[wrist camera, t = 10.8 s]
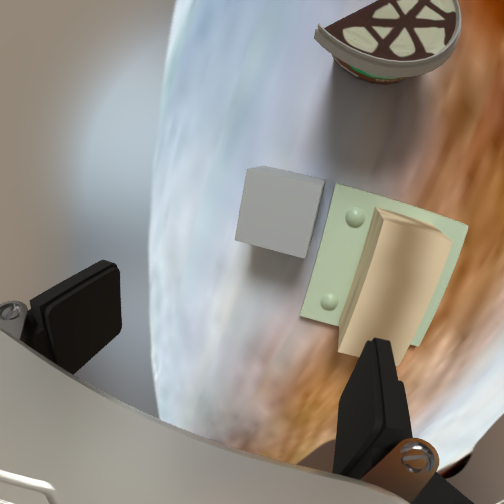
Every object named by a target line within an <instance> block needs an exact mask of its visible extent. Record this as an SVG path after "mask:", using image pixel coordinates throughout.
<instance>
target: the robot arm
mask: <svg viewBox="0 0 504 504" xmlns="http://www.w3.org/2000/svg"><path fill="white" fill-rule="evenodd" d="M30 305H31V309H30V310H29V311H28V309H27V306H26V305H25V304H24V303H22V302H20V301H8V302H4V303H2V304H0V504H474V503H473V502H471V501H470V500H469V499H468V498H467V497H465V496H464V495H463V494H462V493H461V492H459V491H458V490H457V489H455V487H453V486H452V485H451V484H450V483H449V482H447V481H446V480H445V479H444V478H443V477H441V476H440V475H439V474H438V473H437V472H436V471H437V468H438V466H439V456H438V453H437V451H436V450H435V448H434V447H433V446H432V445H431V444H430V443H428V442H426V441H425V440H422V439H419V438H413V437H412V430H411V423H410V417H409V410H408V405H407V399H406V393H405V388H404V384H403V382H402V381H398V377H397V371H396V366H395V361H394V356H393V351H392V347H391V342H390V341H389V340H385V339H380V338H376V337H374V338H373V340H372V341H370V340H368V341H367V342H366V344H365V346H364V348H363V350H362V353H361V355H360V357H359V359H358V362H357V364H356V366H355V368H354V370H353V372H352V374H351V377H350V379H349V381H348V383H347V385H346V387H345V389H344V391H343V393H342V395H341V397H340V401H339V408H338V422H337V434H336V445H335V455H334V464H333V472H332V473H329V472H325V471H321V470H317V469H312V468H308V467H303V466H299V465H294V464H290V463H286V462H282V461H279V460H275V459H271V458H267V457H264V456H260V455H257V454H253V453H250V452H247V451H243V450H240V449H237V448H234V447H230V446H227V445H224V444H221V443H218V442H216V441H213V440H210V439H207V438H204V437H202V436H199V435H196V434H194V433H191V432H188V431H186V430H183V429H181V428H178V427H176V426H174V425H171V424H169V423H166V422H164V421H162V420H159V419H157V418H155V417H153V416H150V415H148V414H146V413H144V412H141V411H140V410H137V409H136V408H133V407H131V406H129V405H127V404H125V403H123V402H121V401H119V400H117V399H115V398H113V397H112V396H110V395H108V394H106V393H104V392H102V391H100V390H98V389H97V388H95V387H93V386H91V385H90V384H88V383H86V382H84V381H82V380H81V379H79V378H78V377H76V376H74V373H76V372H77V371H78V370H79V369H80V368H81V367H82V366H84V365H85V364H86V363H87V362H88V361H89V360H90V359H91V358H92V357H93V356H94V355H95V354H97V353H98V352H99V351H100V350H101V349H102V348H103V347H104V346H105V345H107V344H108V343H109V342H110V341H111V340H112V339H113V338H115V337H116V336H117V335H118V334H119V333H120V331H121V328H122V318H121V298H120V271H119V269H118V268H117V265H116V264H115V263H112V262H109V261H106V260H101V261H99V262H97V263H95V264H93V265H92V266H90V267H88V268H86V269H84V270H82V271H81V272H79V273H77V274H75V275H73V276H72V277H70V278H68V279H66V280H64V281H63V282H61V283H59V284H57V285H56V286H54V287H52V288H51V289H49V290H47V291H45V292H43V293H42V294H40V295H38V296H36V297H35V298H33V299H31V300H30Z"/></svg>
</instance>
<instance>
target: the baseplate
mask: <svg viewBox="0 0 504 504" xmlns="http://www.w3.org/2000/svg"><path fill="white" fill-rule="evenodd" d="M375 207H379V208H382V209H386V210H389V211H392V212H396V213H399V214H402V215H405V216H409V217H412V218H415V219H418V220H421V221H424V222H427V223H430V224H433V225H434V226H435V227H436V228H438V229H439V230H440V231H441V232H442V233H443V234H445V235H446V236H447V237H448V238H449V239H450V240H451V241H452V242H453V243H452V246H451V249H450V252H449V255H448V257H447V260H446V263H445V266H444V268H443V271H442V274H441V276H440V279H439V281H438V284H437V286H436V289H435V291H434V293H433V296H432V298H431V301H430V303H429V305H428V307H427V310H426V312H425V314H424V316H423V319H422V321H421V323H420V325H419V327H418V329H417V331H416V333H415V335H414V337H413V339H412V341H411V343H410V345H414V346H419V345H420V343H421V341H422V339H423V337H424V335H425V333H426V331H427V329H428V327H429V325H430V323H431V321H432V319H433V317H434V315H435V312H436V310H437V308H438V306H439V304H440V301H441V299H442V297H443V294H444V292H445V290H446V287H447V285H448V282H449V280H450V278H451V275H452V272H453V270H454V267H455V265H456V262H457V259H458V257H459V254H460V251H461V248H462V245H463V242H464V239H465V236H466V233H467V230H468V227H469V226H468V225H466V224H464V223H461V222H459V221H456V220H453V219H450V218H448V217H445V216H442V215H439V214H436V213H433V212H431V211H428V210H425V209H422V208H419V207H416V206H413V205H410V204H406V203H403V202H400V201H397V200H394V199H391V198H387V197H384V196H381V195H377V194H374V193H371V192H367V191H364V190H360V189H357V188H353V187H349V186H346V185H342V184H338V183H336V185H335V189H334V193H333V197H332V201H331V205H330V209H329V213H328V217H327V221H326V225H325V229H324V233H323V236H322V240H321V244H320V248H319V251H318V255H317V258H316V262H315V266H314V269H313V273H312V276H311V280H310V283H309V287H308V290H307V293H306V297H305V300H304V303H303V307H302V310H301V314H300V316H303V317H306V318H310V319H313V320H317V321H320V322H324V323H328V324H331V325H335V326H339V322H340V316H341V313H342V311H343V308H344V305H345V302H346V299H347V296H348V294H349V291H350V288H351V285H352V282H353V279H354V276H355V273H356V270H357V266H358V263H359V260H360V257H361V254H362V250H363V247H364V244H365V240H366V237H367V234H368V230H369V227H370V223H371V220H372V216H373V212H374V209H375Z"/></svg>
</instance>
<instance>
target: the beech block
mask: <svg viewBox="0 0 504 504" xmlns="http://www.w3.org/2000/svg"><path fill="white" fill-rule="evenodd" d="M452 243H453V242H452V241H451V240H450V239H449V238H448V237H447V236H446V235H445V234H443V233H442V232H441V231H440V230H439V229H438V228H436V227H435V226H434V225H433V224H430V223H427V222H424V221H421V220H418V219H415V218H412V217H409V216H405V215H402V214H399V213H396V212H392V211H389V210H386V209H382V208H379V207H375V209H374V212H373V216H372V220H371V223H370V227H369V230H368V234H367V237H366V240H365V244H364V247H363V250H362V254H361V257H360V260H359V263H358V266H357V270H356V273H355V276H354V279H353V282H352V285H351V288H350V291H349V294H348V296H347V299H346V302H345V305H344V308H343V311H342V313H341V316H340V322H339V339H338V352H340V353H344V354H348V355H352V356H356V357H360V355H361V353H362V350H363V348H364V346H365V344H366V342H367V341H368V340H370V341H372V340H373V338H374V337H376V338H380V339H385V340H389V341H390V342H391V347H392V351H393V356H394V361H395V366H399V364H400V362H401V361H402V359H403V357H404V355H405V353H406V351H407V349H408V347H409V345H410V343H411V341H412V339H413V337H414V335H415V333H416V331H417V329H418V327H419V325H420V323H421V321H422V319H423V316H424V314H425V312H426V310H427V307H428V305H429V303H430V301H431V298H432V296H433V293H434V291H435V289H436V286H437V284H438V281H439V279H440V276H441V274H442V271H443V268H444V266H445V263H446V260H447V257H448V255H449V252H450V249H451V246H452Z"/></svg>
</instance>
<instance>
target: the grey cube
mask: <svg viewBox="0 0 504 504" xmlns="http://www.w3.org/2000/svg"><path fill="white" fill-rule="evenodd" d="M324 184H325V180H324V179H320V178H316V177H312V176H308V175H303V174H299V173H295V172H290V171H286V170H281V169H277V168H272V167H267V166H261V167H256V168H250V169H247V172H246V178H245V184H244V189H243V195H242V201H241V206H240V212H239V218H238V224H237V229H236V235H235V240H236V241H240V242H244V243H247V244H251V245H255V246H259V247H262V248H266V249H270V250H274V251H277V252H281V253H285V254H289V255H292V256H296V257H300V258H303V259H305V257H306V254H307V251H308V248H309V245H310V242H311V239H312V235H313V231H314V227H315V223H316V219H317V214H318V210H319V206H320V202H321V197H322V193H323V189H324Z"/></svg>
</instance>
